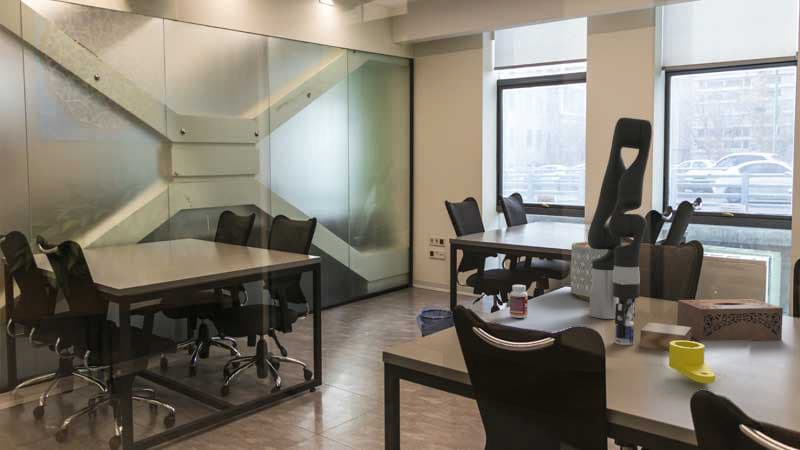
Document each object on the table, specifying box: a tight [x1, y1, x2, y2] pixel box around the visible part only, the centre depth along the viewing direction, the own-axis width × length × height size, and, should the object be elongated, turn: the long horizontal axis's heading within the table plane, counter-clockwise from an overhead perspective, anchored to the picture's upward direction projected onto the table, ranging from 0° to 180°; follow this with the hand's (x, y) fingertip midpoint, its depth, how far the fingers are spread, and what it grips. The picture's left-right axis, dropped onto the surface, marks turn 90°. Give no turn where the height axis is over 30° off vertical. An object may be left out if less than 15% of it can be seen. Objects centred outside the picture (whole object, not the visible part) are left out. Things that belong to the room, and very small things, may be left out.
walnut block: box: [639, 322, 692, 352], centre depth 194 cm, size 12×12×5 cm
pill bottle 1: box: [509, 284, 529, 319], centre depth 234 cm, size 6×6×11 cm
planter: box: [570, 241, 629, 301], centre depth 265 cm, size 26×26×22 cm
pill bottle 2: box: [614, 314, 635, 346], centre depth 196 cm, size 5×5×9 cm
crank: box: [668, 340, 716, 384], centre depth 168 cm, size 18×8×6 cm, turn 177°
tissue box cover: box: [676, 298, 784, 342], centre depth 207 cm, size 26×14×10 cm, turn 94°
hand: (624, 335), depth 196 cm, fingers open, 8 cm apart
